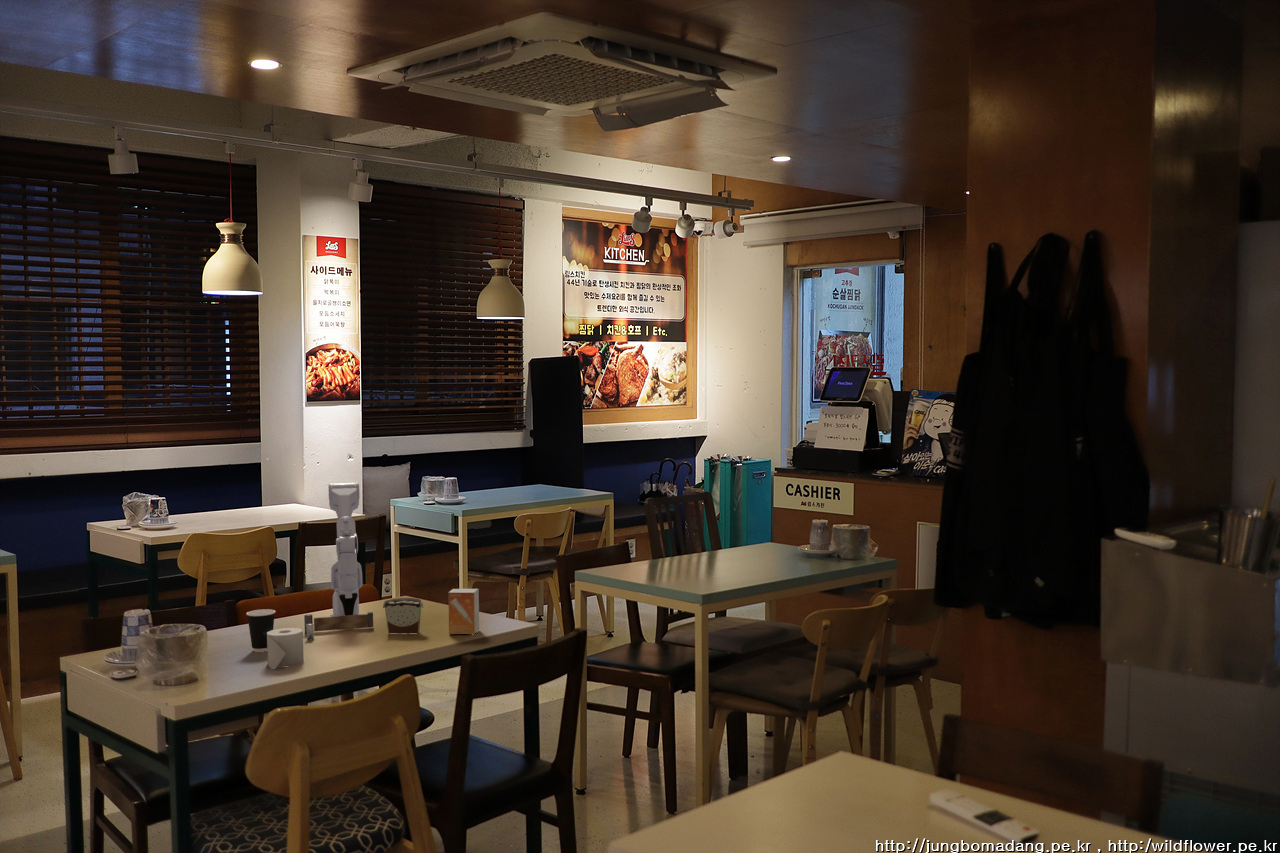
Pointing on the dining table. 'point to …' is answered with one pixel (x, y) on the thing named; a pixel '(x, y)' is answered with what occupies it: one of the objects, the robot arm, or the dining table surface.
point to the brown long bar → (343, 622)
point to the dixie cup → (260, 627)
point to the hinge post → (308, 621)
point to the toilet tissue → (285, 647)
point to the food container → (403, 615)
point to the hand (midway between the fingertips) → (348, 617)
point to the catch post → (310, 631)
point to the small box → (463, 611)
